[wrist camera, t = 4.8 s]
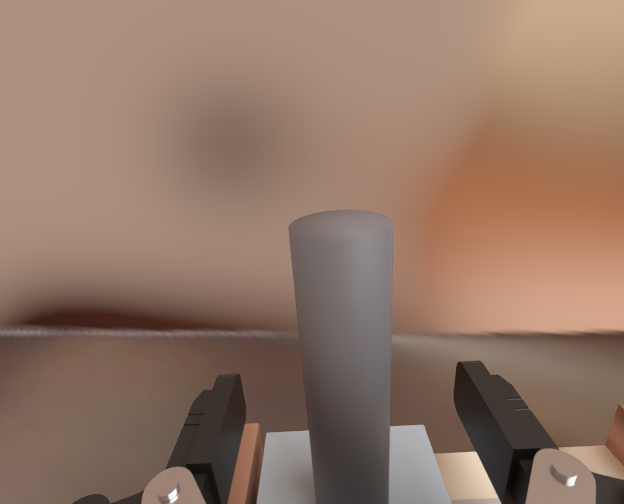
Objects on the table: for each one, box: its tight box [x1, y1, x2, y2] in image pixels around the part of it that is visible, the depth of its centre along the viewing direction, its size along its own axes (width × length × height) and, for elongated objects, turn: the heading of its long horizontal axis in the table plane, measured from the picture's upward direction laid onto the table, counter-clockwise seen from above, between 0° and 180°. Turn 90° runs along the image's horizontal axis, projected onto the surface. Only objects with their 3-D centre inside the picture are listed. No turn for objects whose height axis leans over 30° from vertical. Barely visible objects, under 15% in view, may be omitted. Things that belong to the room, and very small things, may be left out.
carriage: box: [257, 210, 452, 504], centre depth 13 cm, size 8×7×15 cm
